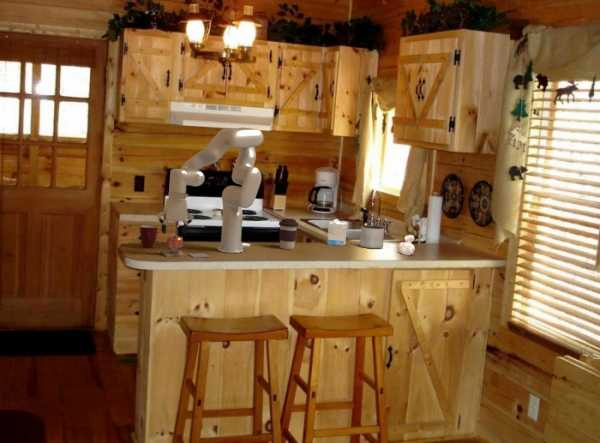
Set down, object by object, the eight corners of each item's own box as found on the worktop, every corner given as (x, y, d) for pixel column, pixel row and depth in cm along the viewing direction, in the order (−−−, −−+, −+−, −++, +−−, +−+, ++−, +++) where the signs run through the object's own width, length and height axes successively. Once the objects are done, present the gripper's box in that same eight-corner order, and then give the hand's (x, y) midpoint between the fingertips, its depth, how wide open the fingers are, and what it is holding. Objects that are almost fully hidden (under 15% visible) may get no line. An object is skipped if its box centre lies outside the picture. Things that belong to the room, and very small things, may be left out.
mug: (158, 249, 386) (159, 228, 385) (141, 249, 384) (142, 228, 382) (155, 245, 396) (156, 225, 395) (138, 245, 393) (139, 225, 392)
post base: (181, 252, 383) (182, 238, 382) (188, 256, 374) (188, 241, 373) (160, 253, 378) (161, 238, 377) (166, 257, 369) (167, 241, 368)
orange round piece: (179, 245, 380) (180, 235, 379) (184, 247, 374) (184, 237, 373) (165, 245, 377) (165, 235, 376) (169, 247, 371) (170, 237, 370)
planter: (376, 250, 433) (378, 229, 431) (355, 246, 439) (357, 226, 437) (386, 247, 444) (388, 227, 442) (365, 244, 450) (367, 224, 448)
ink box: (342, 246, 438) (344, 221, 436) (326, 244, 440) (328, 219, 438) (345, 244, 446) (347, 219, 444) (330, 242, 448) (332, 218, 447)
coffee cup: (274, 248, 414) (276, 219, 412) (281, 245, 424) (283, 217, 422) (292, 250, 411) (294, 221, 409) (299, 248, 420) (301, 219, 418)
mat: (204, 254, 383) (204, 253, 383) (210, 257, 376) (210, 256, 376) (188, 254, 380) (188, 253, 380) (193, 257, 373) (193, 256, 373)
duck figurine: (413, 260, 422) (425, 243, 424) (405, 252, 418) (417, 234, 421) (399, 256, 432) (410, 239, 434) (390, 248, 428) (402, 230, 431)
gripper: (192, 196, 379) (189, 232, 381) (156, 194, 372) (153, 231, 374) (197, 198, 373) (194, 235, 375) (160, 196, 365) (157, 234, 367)
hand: (174, 233), depth 374 cm, fingers open, 9 cm apart
